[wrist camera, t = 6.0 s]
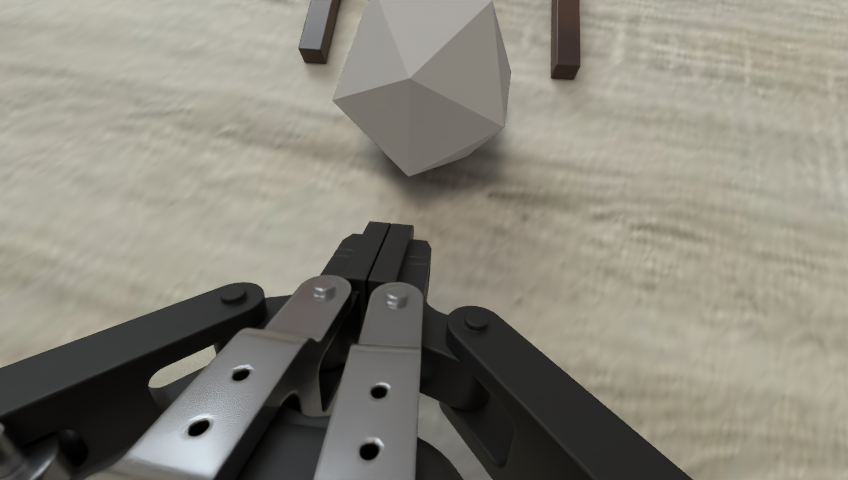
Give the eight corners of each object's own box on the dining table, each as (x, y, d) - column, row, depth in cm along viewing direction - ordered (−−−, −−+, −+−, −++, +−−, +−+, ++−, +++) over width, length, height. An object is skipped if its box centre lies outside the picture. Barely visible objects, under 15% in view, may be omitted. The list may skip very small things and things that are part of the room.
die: (513, 93, 25) (447, -82, 18) (559, 164, 18) (480, -69, 12) (403, 152, 27) (312, 15, 21) (409, 234, 20) (277, 71, 14)
